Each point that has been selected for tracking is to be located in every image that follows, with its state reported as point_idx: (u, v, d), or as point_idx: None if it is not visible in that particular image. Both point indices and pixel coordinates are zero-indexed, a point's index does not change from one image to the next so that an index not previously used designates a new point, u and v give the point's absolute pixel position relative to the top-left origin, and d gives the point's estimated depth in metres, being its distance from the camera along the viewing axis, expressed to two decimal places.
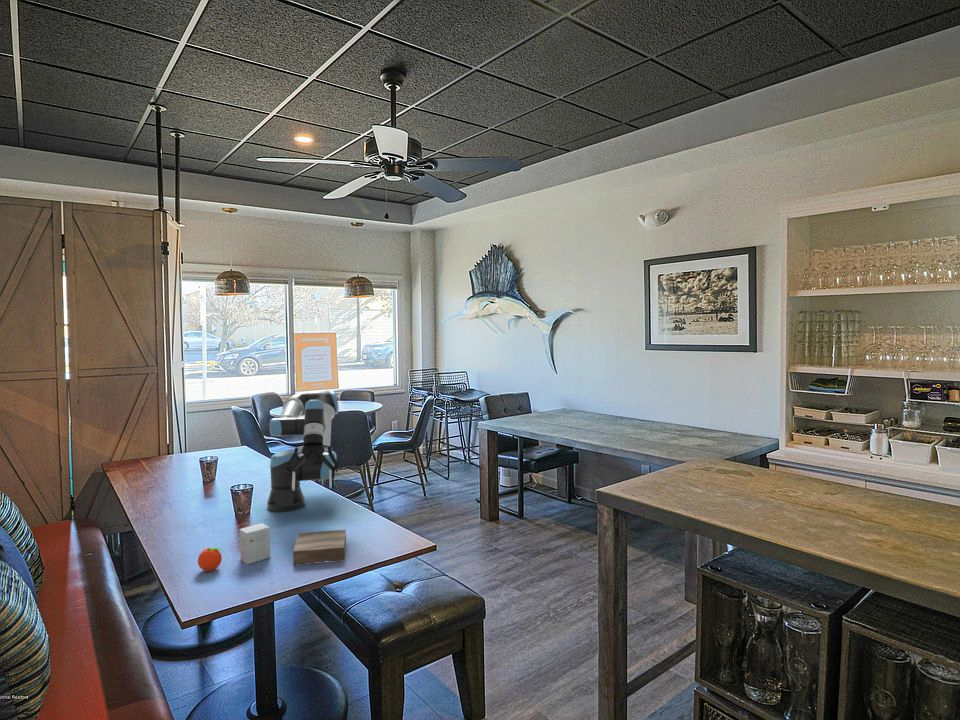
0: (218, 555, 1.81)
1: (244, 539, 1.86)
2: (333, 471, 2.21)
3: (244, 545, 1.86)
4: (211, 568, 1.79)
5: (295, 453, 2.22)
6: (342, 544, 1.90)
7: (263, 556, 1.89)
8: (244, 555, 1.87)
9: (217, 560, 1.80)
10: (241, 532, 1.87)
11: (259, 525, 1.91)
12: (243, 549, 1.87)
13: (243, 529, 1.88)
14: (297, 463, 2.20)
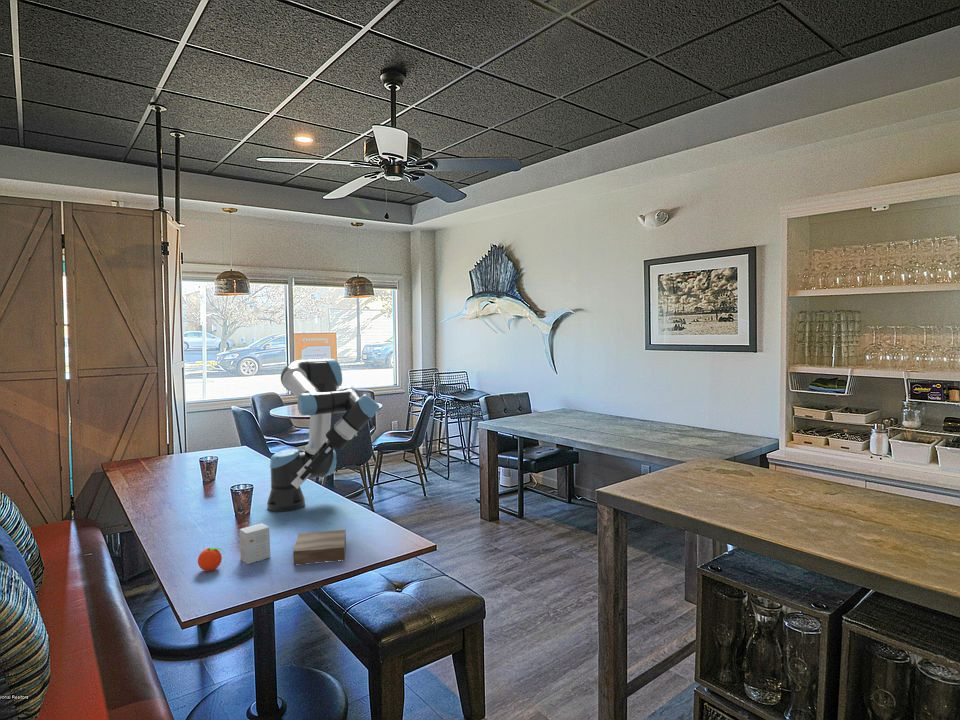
0: (218, 555, 1.81)
1: (244, 539, 1.86)
2: None
3: (244, 545, 1.86)
4: (211, 568, 1.79)
5: (327, 456, 1.87)
6: (342, 544, 1.90)
7: (263, 556, 1.89)
8: (243, 555, 1.87)
9: (217, 560, 1.80)
10: (241, 532, 1.87)
11: (259, 525, 1.91)
12: (243, 549, 1.87)
13: (243, 529, 1.88)
14: None
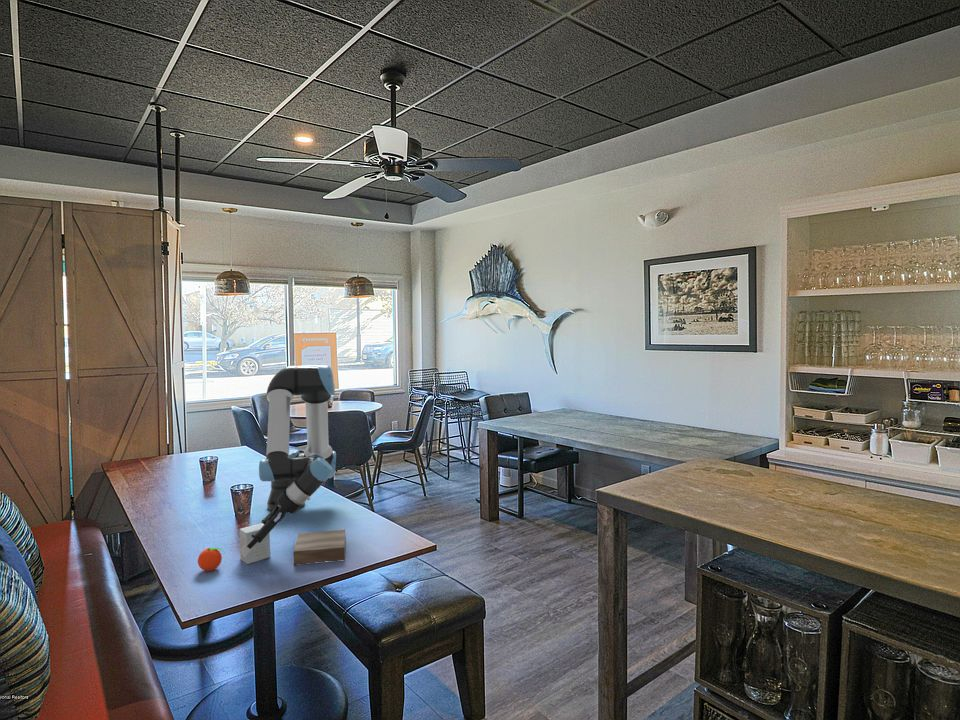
0: (218, 555, 1.81)
1: (244, 539, 1.86)
2: None
3: None
4: (211, 568, 1.79)
5: None
6: (342, 544, 1.90)
7: (263, 556, 1.89)
8: None
9: (217, 560, 1.80)
10: (241, 532, 1.87)
11: (259, 525, 1.91)
12: None
13: (243, 529, 1.88)
14: None
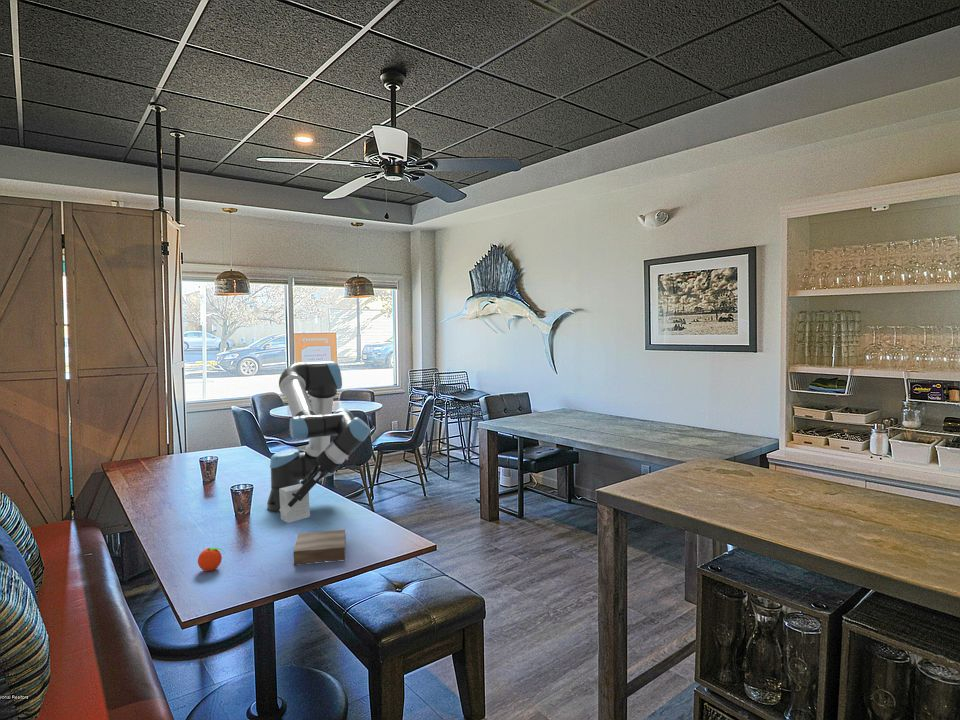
0: (218, 555, 1.81)
1: (284, 498, 1.87)
2: None
3: None
4: (211, 568, 1.79)
5: (316, 482, 1.85)
6: (342, 544, 1.90)
7: (303, 515, 1.90)
8: None
9: (217, 560, 1.80)
10: (281, 491, 1.88)
11: (298, 485, 1.92)
12: None
13: (283, 488, 1.89)
14: None
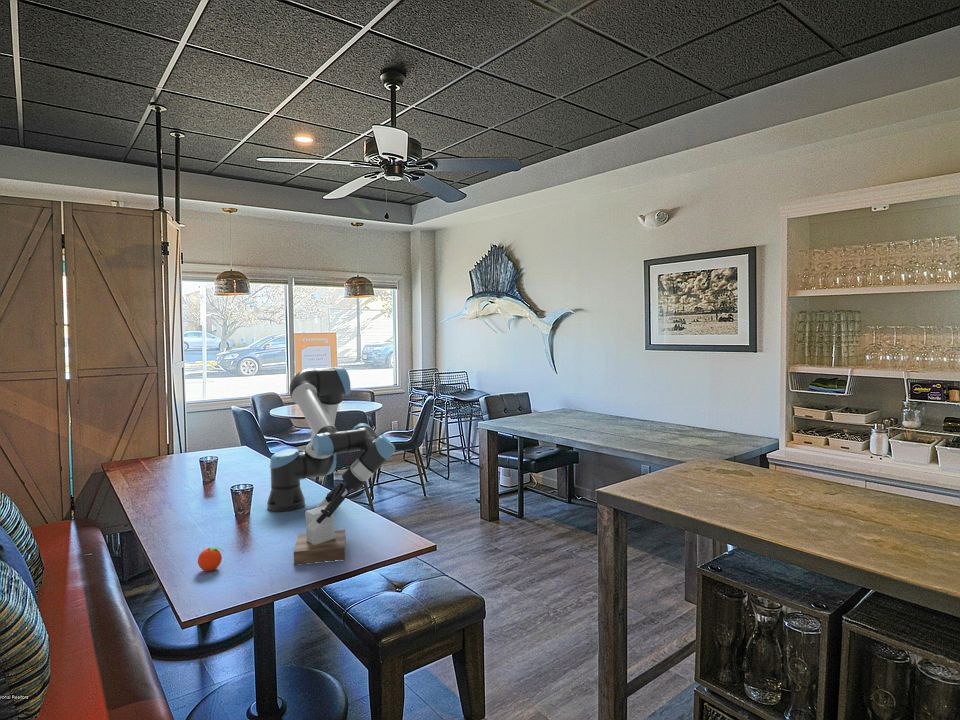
0: (218, 555, 1.81)
1: (310, 520, 1.90)
2: None
3: None
4: (211, 568, 1.79)
5: None
6: (342, 544, 1.90)
7: (328, 537, 1.93)
8: (310, 537, 1.91)
9: (217, 560, 1.80)
10: (307, 514, 1.91)
11: (324, 507, 1.95)
12: (309, 530, 1.91)
13: (309, 511, 1.92)
14: None
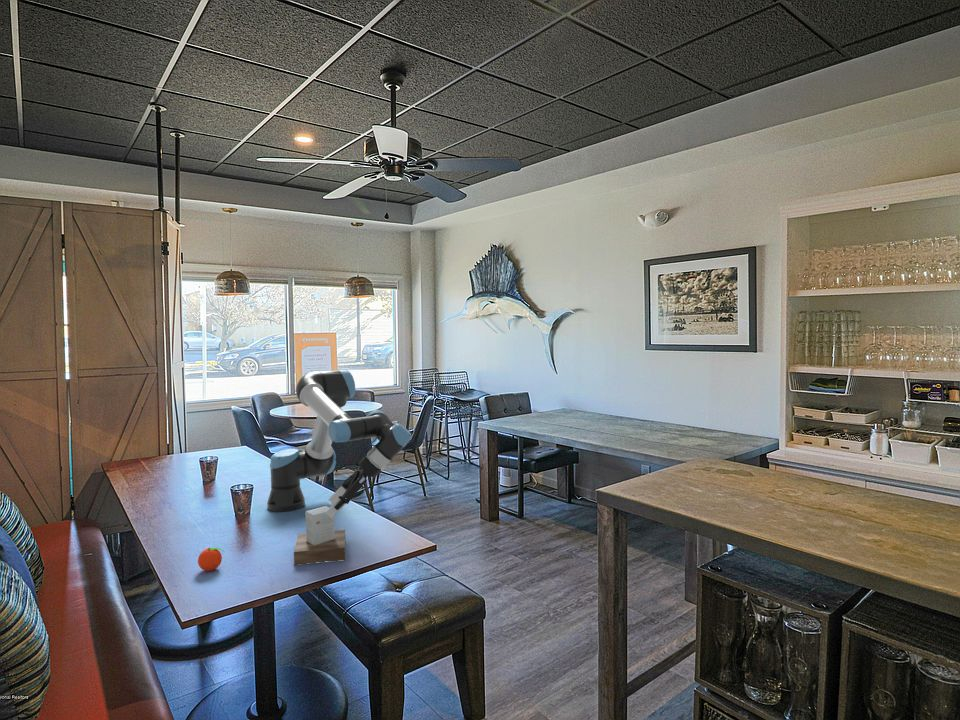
0: (218, 555, 1.81)
1: (310, 521, 1.90)
2: None
3: (310, 526, 1.90)
4: (211, 568, 1.79)
5: None
6: (343, 544, 1.90)
7: (328, 538, 1.93)
8: (310, 537, 1.90)
9: (217, 560, 1.80)
10: (307, 514, 1.91)
11: (324, 508, 1.95)
12: (309, 530, 1.91)
13: (309, 511, 1.92)
14: None
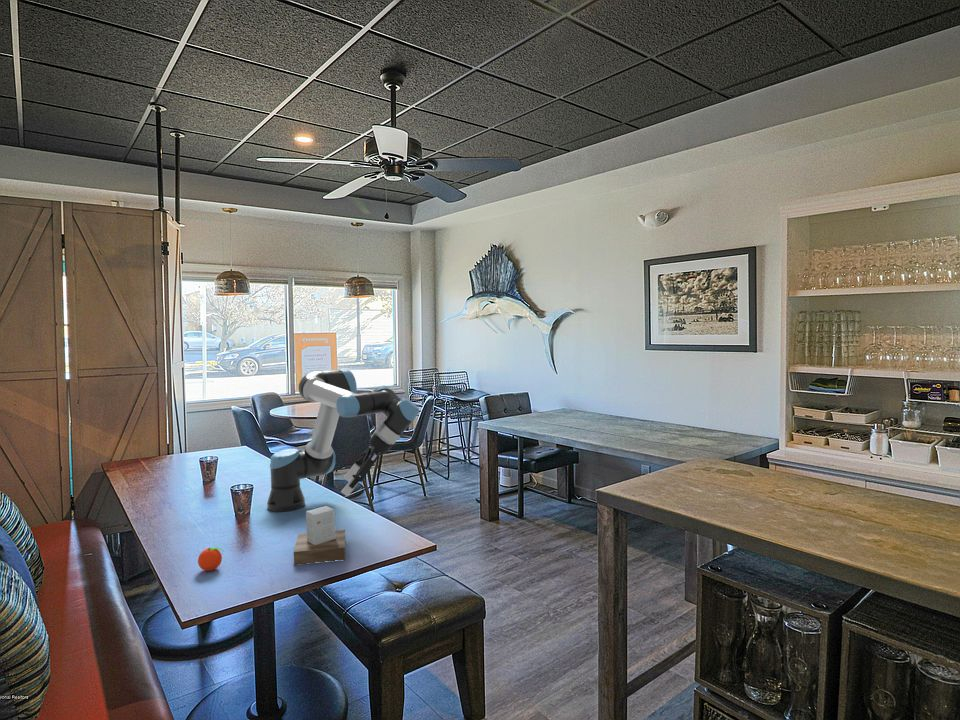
0: (218, 555, 1.81)
1: (311, 520, 1.90)
2: None
3: (311, 526, 1.90)
4: (211, 568, 1.79)
5: (373, 463, 1.90)
6: (342, 544, 1.90)
7: (329, 538, 1.93)
8: (311, 537, 1.91)
9: (217, 560, 1.80)
10: (308, 514, 1.91)
11: (324, 507, 1.95)
12: (310, 530, 1.91)
13: (310, 511, 1.92)
14: None
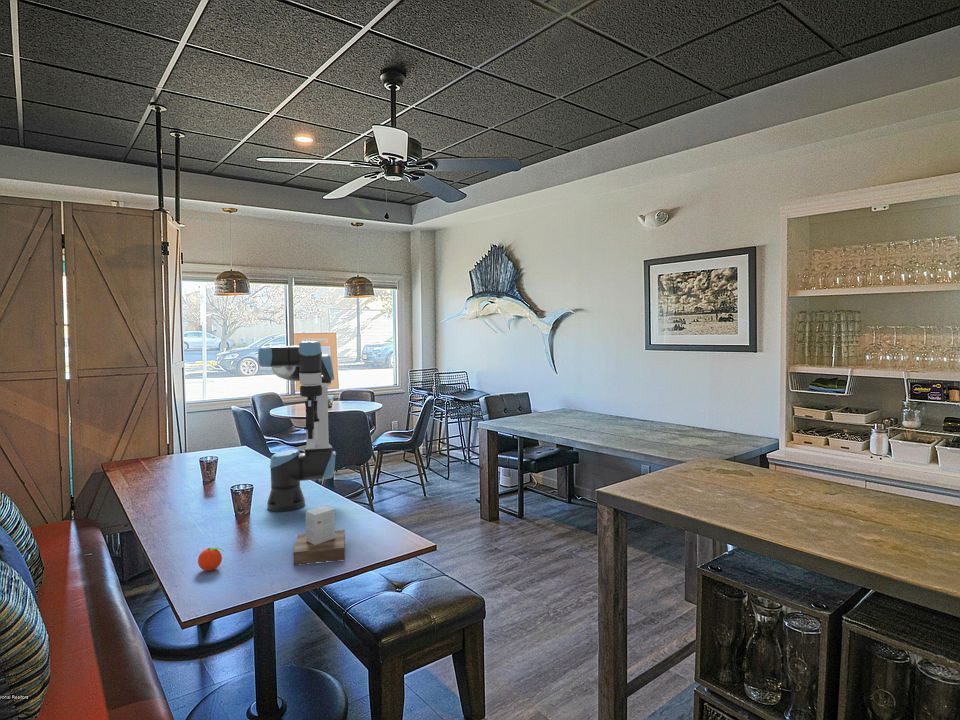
0: (218, 555, 1.81)
1: (311, 520, 1.90)
2: None
3: (311, 526, 1.90)
4: (211, 568, 1.79)
5: (313, 407, 1.98)
6: (342, 544, 1.90)
7: (329, 537, 1.93)
8: (311, 537, 1.91)
9: (217, 560, 1.80)
10: (308, 514, 1.91)
11: (324, 507, 1.95)
12: (310, 530, 1.91)
13: (310, 511, 1.92)
14: (314, 419, 1.99)
